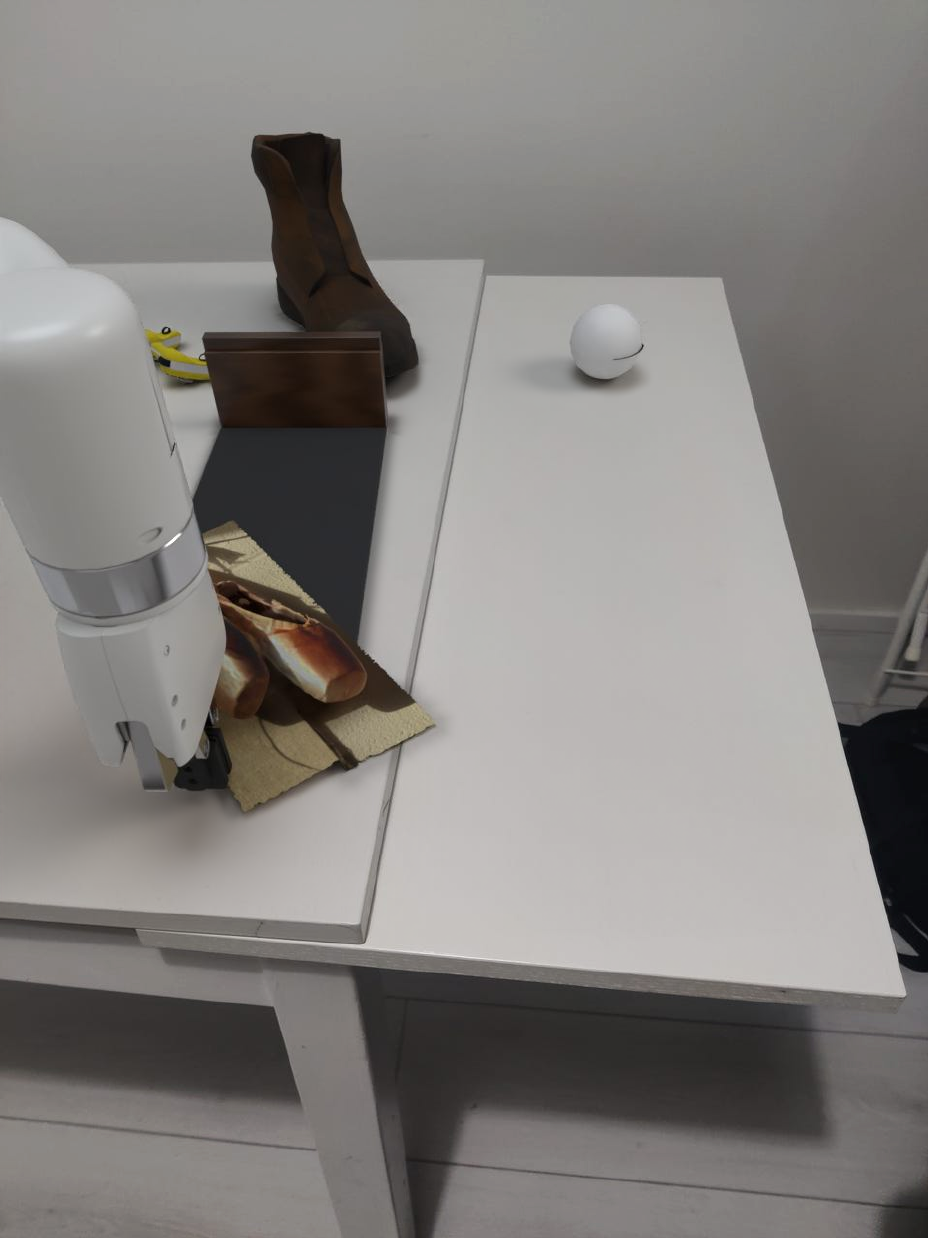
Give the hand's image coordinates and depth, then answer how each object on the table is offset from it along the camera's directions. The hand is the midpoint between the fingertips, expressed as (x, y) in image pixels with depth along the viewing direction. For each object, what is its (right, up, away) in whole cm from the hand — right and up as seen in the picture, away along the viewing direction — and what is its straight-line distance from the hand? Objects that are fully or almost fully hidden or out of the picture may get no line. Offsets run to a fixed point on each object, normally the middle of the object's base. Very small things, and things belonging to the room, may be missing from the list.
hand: (204, 778), depth 54 cm
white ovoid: (+32, +36, +38) cm, 61 cm away
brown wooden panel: (0, +29, +31) cm, 43 cm away
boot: (+3, +41, +44) cm, 61 cm away
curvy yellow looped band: (-14, +36, +40) cm, 56 cm away
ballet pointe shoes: (0, +7, +9) cm, 12 cm away
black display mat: (0, +18, +20) cm, 27 cm away
